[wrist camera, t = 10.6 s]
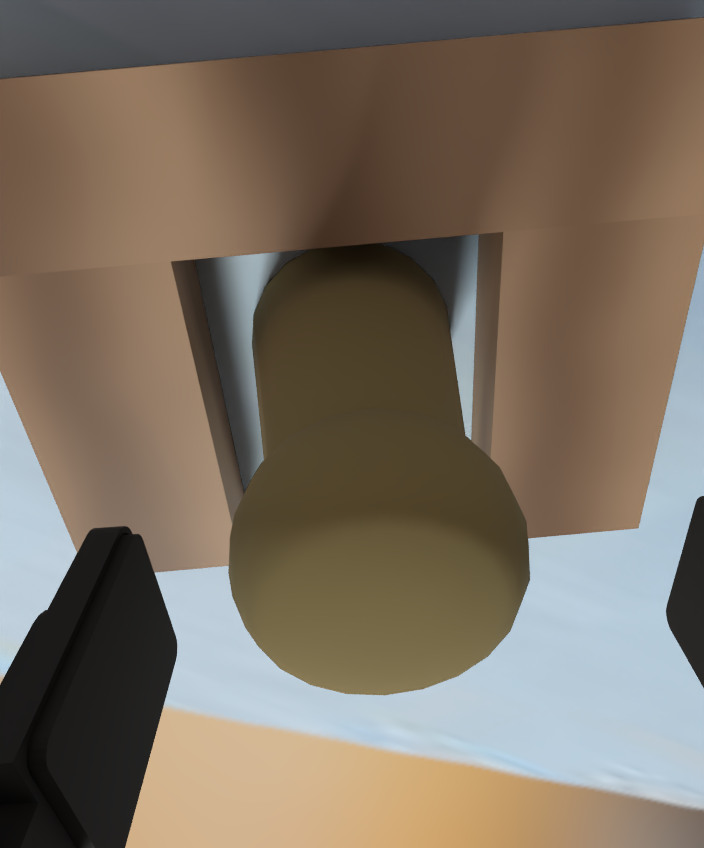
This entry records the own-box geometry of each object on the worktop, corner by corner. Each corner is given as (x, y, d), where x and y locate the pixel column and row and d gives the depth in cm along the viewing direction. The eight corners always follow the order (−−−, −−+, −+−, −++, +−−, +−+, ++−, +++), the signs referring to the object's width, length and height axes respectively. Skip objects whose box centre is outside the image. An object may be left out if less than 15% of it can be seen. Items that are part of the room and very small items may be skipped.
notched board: (693, 17, 15) (756, 13, 13) (607, 481, 22) (638, 528, 20) (-56, 83, 15) (-119, 89, 12) (109, 527, 22) (88, 578, 20)
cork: (217, 283, 18) (105, 554, 8) (418, 208, 17) (550, 414, 7) (296, 446, 21) (282, 779, 11) (470, 389, 20) (608, 696, 10)
